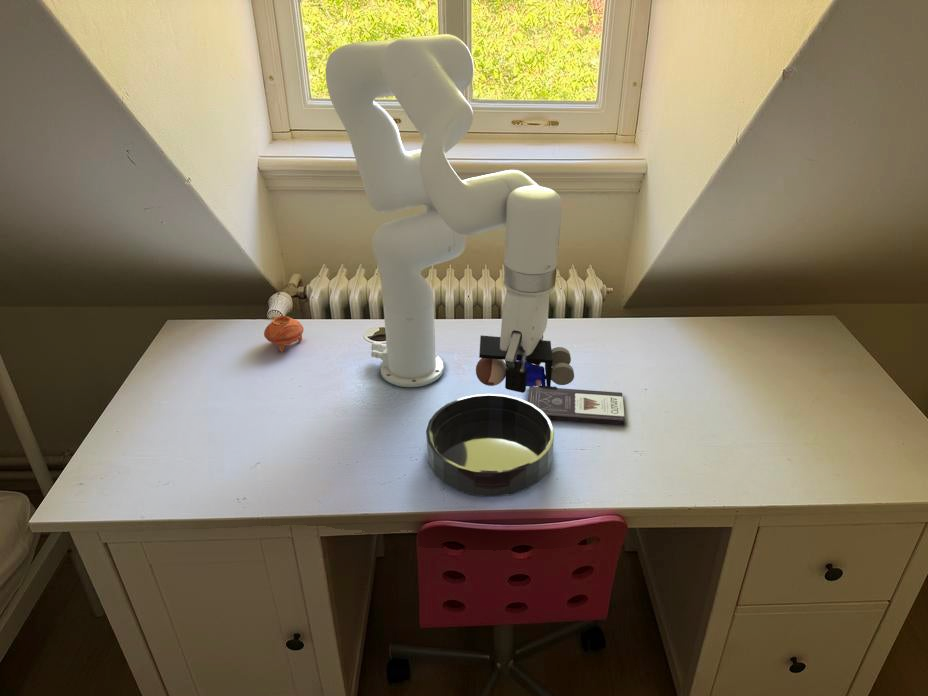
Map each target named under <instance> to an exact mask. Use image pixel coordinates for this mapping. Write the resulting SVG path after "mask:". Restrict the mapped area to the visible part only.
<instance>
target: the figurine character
mask: <svg viewBox="0 0 928 696" xmlns="http://www.w3.org/2000/svg"><path fill="white" fill-rule="evenodd" d="M500 337H501V336H492V335H480V339H479V353H478V354H479V355H478V358H479V360H478V361H477V364H476V366H475V376H476V378H477V379H478V381H479V382H480V383H481V384H483V385H485V386H489V387H494V386H498V385H500V384H502V382H503V381H505V378H506V365H505V363H506V362H505V358H506V354H507V351H508V349H507V350H506V351H501V349H500ZM551 342H552V341H551V340H545V339H543V340H540V341H539V342H538V344H537V346H536V347H535V349H534V350H533V352H532V353H531V354H530V355H528V357H527V362H526V367H525V370H527V380H526V387H529V386H534V387H540V388H542V389H551V390H557V389H558V388H559V387H557V386H552V383H554V384H555V385H558V386H565V385H566V386H567V385H569V384H571V383H572V382H573V381H574V379H575V371H574V368H573V366H572V365H570V364H571V362H572V356H571V353H570V351H569V350H568V349H567V348H565V347H563V346H556V347H554V348H552V343H551ZM508 348H509V347H508ZM519 351H525V350H524V349H523V347H520V346H519ZM516 359H517V361H519V362H520V364H521V361H522V355H518V354H517V357H516ZM528 362H540V363H541V364H542V363H543V364H544V366H543V365H541V364H540V365H539V364H531V363H528Z"/></svg>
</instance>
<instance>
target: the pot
mask: <svg viewBox="0 0 928 696" xmlns="http://www.w3.org/2000/svg"><path fill="white" fill-rule="evenodd" d="M304 331H305V330H304V326H303V325H302V323H301V322H300V321H299V320H297V319H294V318H292V317H290V316H287V315H280V316H276V317H275V318H273V319H272V320H271V322H270V323H269V324H268V325H267V326H266V327H265V329H264V332H263V336H264V338H265V339H266V340H267V341H268V342H269V343H271V344H274V345H277V347H278V349H279V350H280V352H281V353H283V352H284V351H285V346H288V345H291V344H293V343H295V342H296V341H298V342H299V343H301V342H302V340H303V333H304Z"/></svg>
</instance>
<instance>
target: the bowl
mask: <svg viewBox="0 0 928 696" xmlns="http://www.w3.org/2000/svg"><path fill="white" fill-rule="evenodd" d="M435 411H436V412H434V413H433V415H432V416H431V417H430V419H429V420H428V423H427V427H426V430H425V437H426V439H425V440H426V454H427V462H428V466H429V467H430V469H431V471H432V473H433V475H435V476H436V477H437V478H438V479H439V480H440V481H441V482H442V483H443V484H445V485H446V486H448V487H451V488H452V489H454V490H456V491H458V492H461V493H465V494H469V495H471V496H472V495H473V496H481V497H499V496H500V497H501V496H508V495H512V494H515V493H519V492H522V491H525V490H527V489H529V488H531V487H532V486H534V485H536V484H537V483H539V482H540V481H541V480H542V479H543V478H544V476H546V475H547V473H548V472H549V470H550V467H551V465H552V462H553V451H554V439H555V429H554V426H553V423H552V420H551V419H549V418H548V417H547V416H546V415H545V413H544V412H543V411H542V410H540V409H539V408H537V407H536V406H534V405H533V404H532V403H529V402H528V400H525V399H522V398H519V397H516V396H511V395H507V394H501V393H499V394H498V393H481V394H472V395H467V396H463V397H460V398H457V399H455V400H453V401H450V402H448V403H446V404H445V405H443V406H441V407H440V408H439V409H438V410H435Z"/></svg>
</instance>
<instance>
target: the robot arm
mask: <svg viewBox="0 0 928 696" xmlns="http://www.w3.org/2000/svg"><path fill="white" fill-rule="evenodd" d="M474 72H475V66H474V60H473V56H472V54H471V52H470V49H469V48H468V46H467V45H466V44H465V42H464V41H463V40H461V39H460V38H459V37H457V36H456V35H453V34H450V33H442V34H441V33H440V34H429V35H417V36H408V37H407V36H406V37H403V38H396V39H395V38H393V39H383V40H380V39H379V40H367V41H357V42H352V43H348V44H347V43H346V44H344V45H341V46H339V47H337V48H335V49H334V50H333V51H331V53H330V54H329V55H328V57H327V60H326V64H325V84H326V88H327V92H328V97H329V99H330V101H331V104H332V106H333V108H334V111H335V112H336V114H337V116H338V118H339V120H340V121H341V123H342V126H343V127H344V129H345V131H346V134H347V136H348V139H349V141H350V144H351V148H352V152H353V155H354V159H355V163H356V165H357V169H358V172H359V177H360V179H361V183H362V186H363V189H364V193H365V195H366V198H367V201H368V202H369V205H370V206H371V207H372V209H373V210H374V211H376V212H378V213H393V212H398V211H399V212H400V211H404V210H407V209H412V208H415V207H416V208H417V207H420V206H423V208H424V211H425V212H422V213H418V214H412V215H408V216H404V217H400V218H396V219H393V220H390V221H387V222H384V223H383V224H381V225H380V226H379V227H377V229H376V230H375V231H374V232H373V235H372V239H371V245H372V246H371V247H372V251H373V256H374V259H375V263H376V266H377V270H378V275H379V281H380V287H381V296H382V297H381V298H382V306H383V308H382V309H383V319H384V330H385V331H384V333H385V343H386V344H384V343H381V342H377V341H372V343H371V348H370V349H371V352H370V356H371V357H372V358H376V359H381V361H382V362H381V364H380V374H381V377H382V378H383V379H384V380H385V381H386V382H388V383H389V384H392V385H394V386H398V387H403V388H418V387H424V386H426V385H429V384H432V383H433V382H436V381H437V380H439V379H440V378H441V376H442V375H443V374H444V369H445V366H444V365H445V364H444V361H443V359H442V358H441V357H440V356H439V355H437V353H436V330H435V303H434V290H433V287H432V285H431V283H430V282H429V281H428V279H426V278H425V277H424V276H423V275H422V271H423V270H424V269H427V268H430V267H432V266H435V265H439V264H442V263H445V262H446V263H447V262H448V261H451V260H455V259H456V258H458V257H460V256H461V255H462V254H463V253H464V251H465V248H466V244H467V236H473V235H477V234H481V233H484V232H485V233H486V232H489V231H493V230H495V229H499V228H504V227H505V242H504V265H503V286H504V288H505V289H506V292H505V296H504V300H503V301H504V303H503V307H502V308H503V309H502V317H501V325H500V326H501V328H500V336H499V337H500V349H501V351H506V350H507V349H508V351H507V354H506V358H505V360H504V362H505V365H506V376H505V378H504V381H505V382H504V387H505V390H508V391H513V392H518V393H521V394H524V393H525V392H526V391H527V386H526V380H527V370H525V367H526V362H527V357H528V355H530V354H531V353H532V352H533V350H534V349H535V347H536V346H537V344H538V342H539V341H540V340H544V334H545V332H546V329H547V326H548V321H549V320H548V319H549V309H550V308H549V307H550V293H552V292H553V291H554V290H555V288H556V281H557V271H558V270H557V269H558V258H559V257H558V256H559V246H560V245H559V244H560V234H561V221H562V210H563V202H562V198H561V196H560V194H559V193H558V192H556V191H555V190H553V189H552V188H550V187H549V188H548V187H545V186H540V185H539V184H538V183H537V182H536V181H534V180H533V179H532V178H531V177H530V176H529V175H527V174H526V173H524V172H523V171H520V170H517V169H508V170H503V171H498V172H494V173H493V172H492V173H488V174H484V175H478V176H474V177H470V178H466V179H461V178H460V177H459V176H458V174H457V172H456V171H455V170H454V168H453V167H452V165H451V164H450V161H449V159H448V158H447V155H446V153H448V152H449V151H450V150H451V149H453V148H454V147H455V146H456V145H457V144H459V143H460V142H461V141H462V140H463V139H464V137H465V136H466V135H467V134H468V132H469V131H470V129H471V127H472V125H473V121H474V111H473V109H472V106H471V104H470V103H469V102H468V100H467V99H466V98H465V96H464V95H463V93H462V91H464V90H466V89H467V88H468V87H469V86H470V85H471V83H472V81H473V78H474V74H475V73H474ZM388 97H395V99H396V100H397V102H398V104H399V105H400V106H401V109H403V111H404V113H405V114H406V115H407V117H408V119H409V120H410V122H411V123H412V124H413V126H414V128H415V129H416V130H417V132H418V134H419V135H420V137H421V138H422V139H423V141H422V145H421V148H420V149H415V150H414V149H413V150H410V151H406V149H405V148H404V145H403V142H402V139H401V134H400V130H399V128H398V125H397V123H396V122H395V120H394V119H393V117H392V116H391V115H390V114H389V113H388V112H387V111H386V110H385V109H384V108H383V107H382V106H381V105H380V104H378V103H377V102H376V101H375V100H376V99H379V98H388ZM519 346H520V347H523V349H524V350H525V351H519ZM508 347H509V348H508ZM517 354H518V355H522V361H521V364H520V362H519V361H517V359H516V357H517ZM528 363H531V364H534V365H535V364H539V365H540V366H541V364H542V363H540V362H528Z"/></svg>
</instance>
